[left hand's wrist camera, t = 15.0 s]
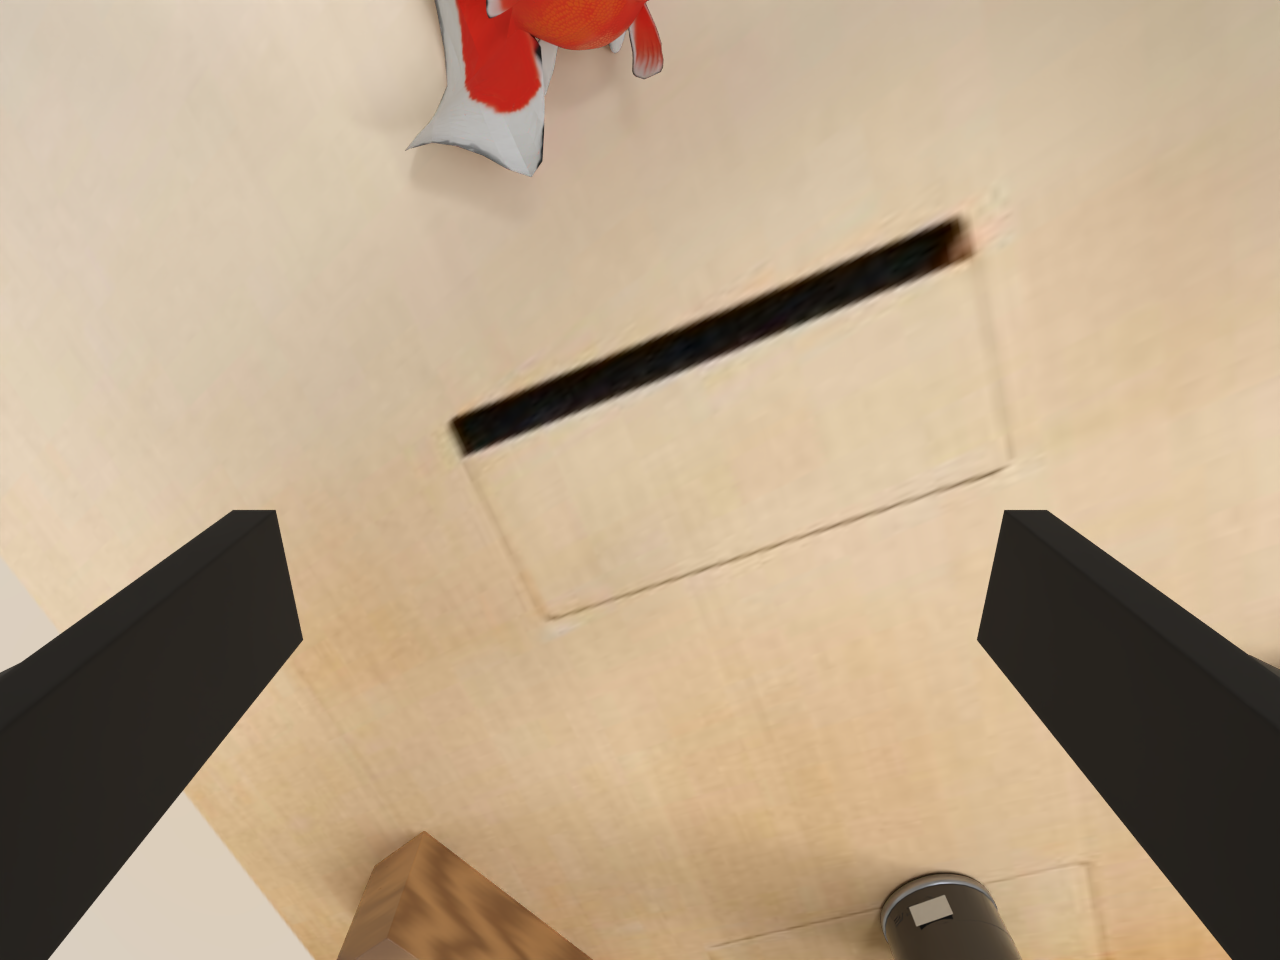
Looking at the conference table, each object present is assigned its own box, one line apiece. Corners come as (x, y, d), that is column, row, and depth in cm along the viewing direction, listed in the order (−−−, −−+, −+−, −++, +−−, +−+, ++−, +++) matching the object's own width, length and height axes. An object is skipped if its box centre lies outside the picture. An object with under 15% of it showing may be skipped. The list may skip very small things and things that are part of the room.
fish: (743, 143, 32) (639, 48, 23) (492, 236, 40) (343, 190, 31) (712, -91, 31) (595, -278, 23) (464, 48, 39) (306, -51, 30)
